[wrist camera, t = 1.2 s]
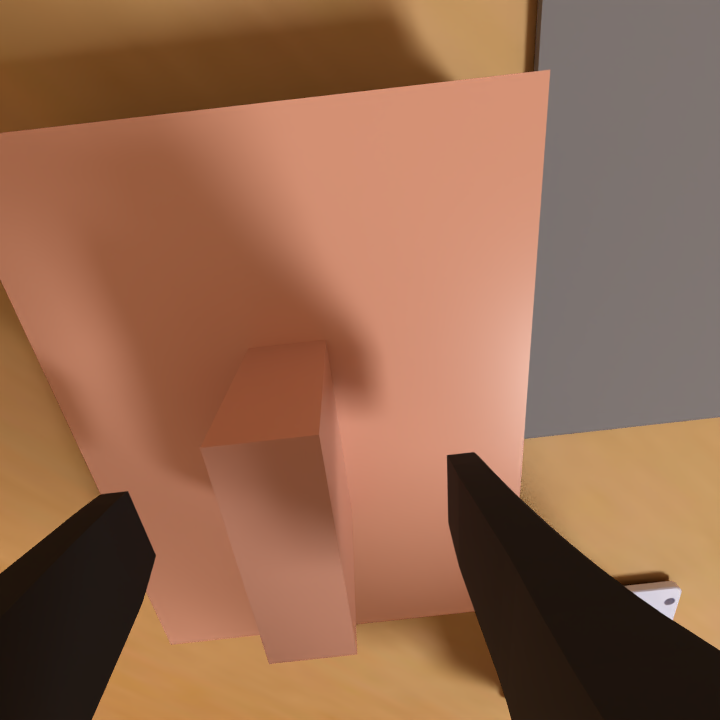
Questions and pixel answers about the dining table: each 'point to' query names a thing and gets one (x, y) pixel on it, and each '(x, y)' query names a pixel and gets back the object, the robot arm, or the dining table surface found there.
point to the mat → (627, 217)
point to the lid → (288, 338)
